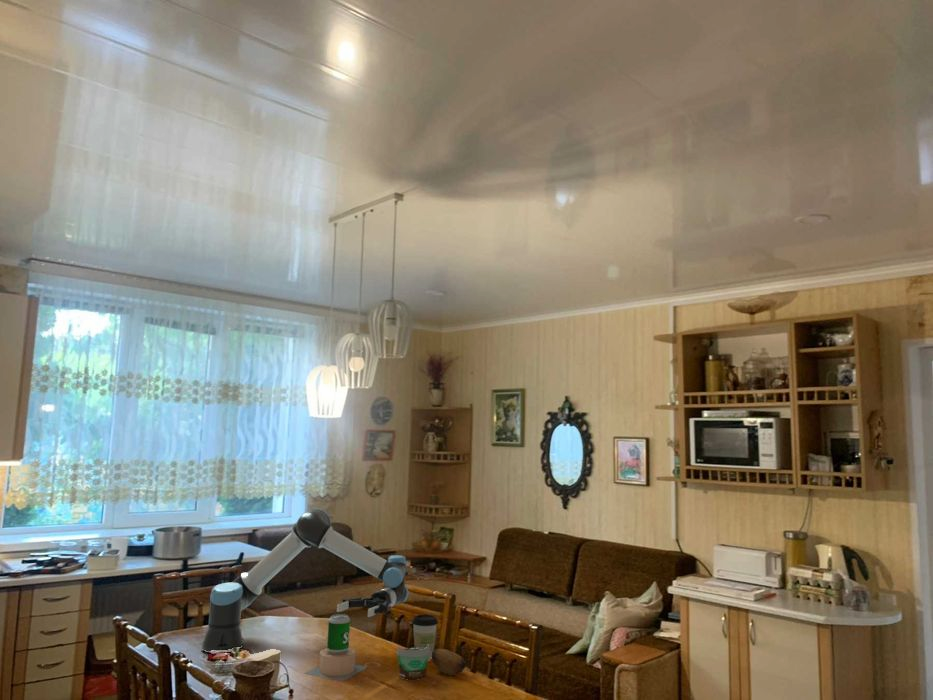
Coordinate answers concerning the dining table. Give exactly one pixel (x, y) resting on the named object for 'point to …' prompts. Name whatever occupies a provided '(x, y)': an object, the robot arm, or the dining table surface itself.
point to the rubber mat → (316, 673)
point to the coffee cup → (425, 631)
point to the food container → (413, 662)
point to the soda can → (338, 634)
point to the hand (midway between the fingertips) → (353, 610)
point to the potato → (448, 661)
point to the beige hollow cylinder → (336, 663)
